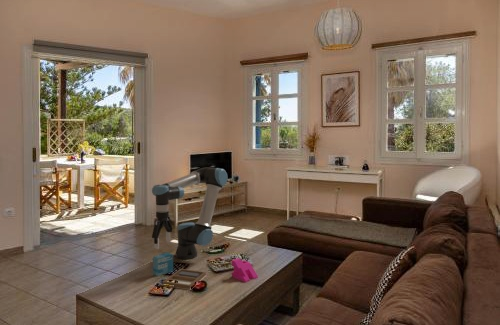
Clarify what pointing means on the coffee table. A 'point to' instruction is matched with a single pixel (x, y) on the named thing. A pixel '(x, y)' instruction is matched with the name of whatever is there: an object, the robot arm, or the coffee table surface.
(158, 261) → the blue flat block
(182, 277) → the slot board
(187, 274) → the rubber bar
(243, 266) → the pink plastic figure
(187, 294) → the coffee table surface
